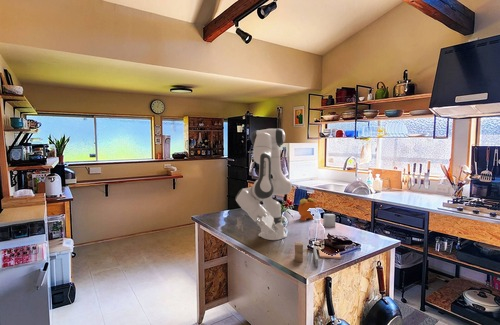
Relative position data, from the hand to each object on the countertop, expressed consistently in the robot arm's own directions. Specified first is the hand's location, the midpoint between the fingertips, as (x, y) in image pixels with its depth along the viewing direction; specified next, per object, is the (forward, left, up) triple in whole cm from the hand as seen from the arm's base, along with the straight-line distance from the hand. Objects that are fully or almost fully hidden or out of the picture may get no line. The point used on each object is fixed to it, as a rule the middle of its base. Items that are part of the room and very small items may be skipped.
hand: (276, 232), depth 150 cm
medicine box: (-64, +35, -15) cm, 74 cm away
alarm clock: (-80, +19, -15) cm, 84 cm away
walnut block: (0, +12, -15) cm, 19 cm away
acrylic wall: (-2, +21, -14) cm, 25 cm away
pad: (-11, +29, -14) cm, 34 cm away
